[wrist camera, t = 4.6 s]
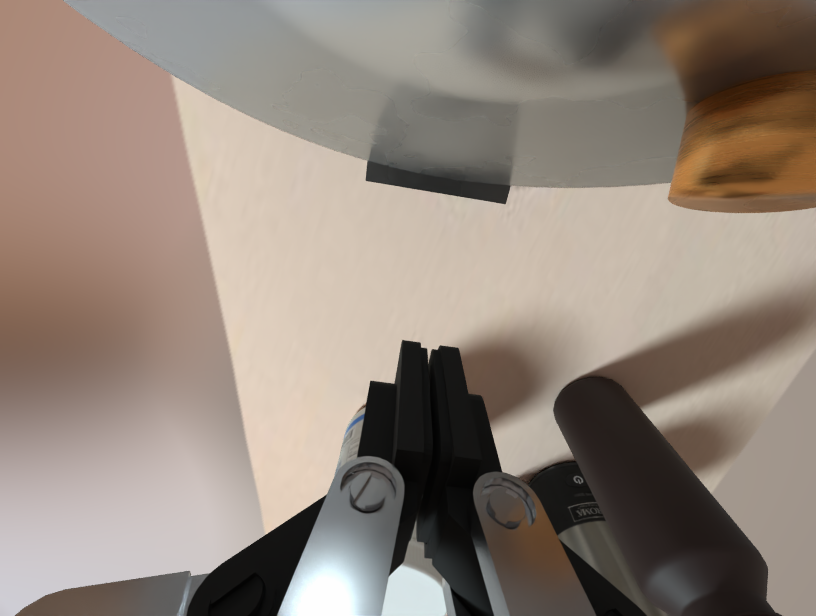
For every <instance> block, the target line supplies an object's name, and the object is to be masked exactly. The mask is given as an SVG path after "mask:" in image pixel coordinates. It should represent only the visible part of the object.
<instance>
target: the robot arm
mask: <svg viewBox="0 0 816 616" xmlns="http://www.w3.org/2000/svg"><path fill="white" fill-rule="evenodd" d="M415 522H416V539H417V542H423V543H424V558H428V559H432V565H433V567H434V568H435V569H436V570H437V571H438V572H439V574H440V575H441V576H442V588H443V595H444V600H445V605H446V611H447V615H448V616H647V615H646V614H645V613H644V612H643V611H642V610H641V609H640V608H639V607H638V606H637V605H636V604H635V603H634V602H632V601H631V600H630V599H629V598H628V597H627V596H625V595H624V594H623V593H622V592H621V591H620V590H618V589H617V588H616V587H615V586H614V585H612V584H611V583H610V582H609V581H608V580H607V579H605V578H604V577H603V576H602V575H601V574H600V573H598V572H597V571H596V570H595V569H594V568H593V567H591V566H590V565H589V564H588V563H587V562H586V561H584V560H583V559H582V558H581V557H580V556H579V555H577V554H576V553H575V552H574V551H573V550H572V549H570V548H569V547H568V546H567V545H566V544H564V543H563V542H562V541H561V540H560V539H559V538H558V536H557V534H556V532H555V530H554V528H553V526H552V524H551V522H550V520H549V518H548V516H547V514H546V512H545V510H544V508H543V506H542V504H541V502H540V500H539V499H538V497H537V496H536V494H535V492H534V491H533V490H532V489H531V488H530V487H529V486H528V485H527V484H526V483H525V482H523V481H521V480H520V479H518V478H517V477H515V476H513V475H510V474H507V473H503V472H502V469H501V466H500V462H499V458H498V454H497V450H496V447H495V443H494V439H493V435H492V431H491V427H490V424H489V420H488V416H487V412H486V408H485V405H484V401H483V398H482V397H481V396H480V395H474V394H468V389H467V385H466V380H465V375H464V370H463V366H462V361H461V356H460V351H459V348H455V347H448V346H441V345H440V346H439V348H438V350H434V349H432V351H431V355H430V360H429V364H428V354H427V348H421V343H419V342H412V341H405V340H402V344H401V349H400V355H399V361H398V367H397V372H396V378H395V384H391V383H384V382H376V381H370V386H369V392H368V397H367V403H366V409H365V414H364V420H363V426H362V431H361V437H360V442H359V448H358V454H357V458H355V459H353V460H350V461H348V462H347V463H345V464H344V465H343V466H342V467H341V468H340V469H339V470H338V472H337V474H336V475H335V477H334V479H333V481H332V484H331V486H330V489H329V491H328V493H327V495H326V496H324V497H323V498H321V499H320V500H318V501H316V502H315V503H313V504H312V505H310V506H309V507H307V508H306V509H304V510H303V511H301V512H300V513H298V514H297V515H295V516H294V517H292V518H291V519H289V520H288V521H286V522H285V523H283V524H282V525H280V526H278V527H277V528H275V529H274V530H272V531H271V532H269V533H268V534H266V535H265V536H263V537H262V538H260V539H259V540H257V541H256V542H254V543H253V544H251V545H250V546H248V547H247V548H245V549H243V550H242V551H241V552H239V553H238V554H236V555H234V556H233V557H232V558H230V559H228V560H227V561H225V562H224V563H222V564H221V565H220V566H218V567H217V568H216V569H215V570H214V571H212V572H211V573H209V574H202V575H196V576H191V573H190V571H185V572H179V573H172V574H165V575H158V576H152V577H145V578H138V579H132V580H125V581H118V582H111V583H105V584H98V585H91V586H85V587H78V588H71V589H65V590H62V591H58V592H55V593H52V594H49V595H46V596H44V597H42V598H40V599H39V600H37V601H35V602H33V603H32V604H30V605H28V606H26V607H25V608H23V609H22V610H21V611H20V612H19V613H17V614H16V615H15V616H381V614H382V609H383V604H384V598H385V593H386V588H387V583H388V578H389V576H390V575H391V574H392V573H393V572H394V571H395V570H396V569H397V568H398V567H399V566H400V565H401V564H402V563H403V562H404V559H405V555H406V551H407V548H408V544H409V541H411V537H412V534H413V530H414V526H415Z"/></svg>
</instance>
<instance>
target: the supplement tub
mask: <svg viewBox="0 0 816 616" xmlns="http://www.w3.org/2000/svg"><path fill="white" fill-rule="evenodd" d="M365 409H366V407H365V408H363V409H362V410H360V411H359V412H358V413H356V414H355V415H354V416H353V418H352V419H351V421H350V422H349V424H348V426H347V429H346V432H345V436H344V440H343V444H342V448H341V452H340V456H339V460H338V464H337V468H336V472H335V475H336V474H337V472H338V470H339V469H340V468H341V467H342V466H343V465H344V464H345V463H347V462H348V461H350V460H353V459H355V458H357V454H358V448H359V442H360V437H361V431H362V426H363V420H364V414H365ZM334 477H335V476H334ZM446 613H447V611H446V605H445V600H444V595H443V588H442V576H441V575H440V574H439V572H438V571H437V570H436V569H435V568H434V567H433V565H432V559H428V558H424V543H423V542H417V539H416V522H415V526H414V530H413V534H412V537H411V541H409V544H408V548H407V551H406V555H405V559H404V562H403V563H402V564H401V565H400V566H399V567H398V568H397V569H396V570H395V571H394V572H393V573H392V574H391V575H390V576H389V578H388V583H387V588H386V593H385V598H384V604H383V609H382V614H381V616H445V615H446Z"/></svg>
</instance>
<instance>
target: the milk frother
mask: <svg viewBox="0 0 816 616" xmlns="http://www.w3.org/2000/svg"><path fill="white" fill-rule="evenodd" d="M528 486H529V487H530V488H531V489H532V490H533V491H534V492H535V494H536V496H537V497H538V499H539V500H540V502H541V504H542V506H543V508H544V510H545V512H546V514H547V516H548V518H549V520H550V522H551V524H552V526H553V528H554V530H555V532H556V534H557V536H558V538H559V539H560V540H561V541H562V542H563V543H564V544H566V545H567V546H568V547H569V548H570V549H572V550H573V551H574V552H575V553H576V554H577V555H579V556H580V557H581V558H582V559H583V560H584V561H586V562H587V563H588V564H589V565H590V566H591V567H593V568H594V569H595V570H596V571H597V572H598V573H600V574H601V575H602V576H603V577H604V578H605V579H607V580H608V581H609V582H610V583H611V584H612V585H614V586H615V587H616V588H617V589H618V590H620V591H621V592H622V593H623V594H624V595H625V596H627V597H628V598H629V599H630V600H631V601H632V602H634V603H635V604H636V605H637V606H638V607H639V608H640V609H641V610H642V611H643V612H644V613H645V614H646V615H647V616H671V615H669V614H667V613H666V612H664V611H662V610H661V609H659V608H657V607H656V606H654V605H653V604H652V603H651V602H650V601H649V600H648V599H647V597H646V596H645V595H644V594H643V593H642V591H641V590H640V588H639V586H638V584H637V582H636V580H635V578H634V576H633V574H632V572H631V570H630V568H629V566H628V564H627V562H626V560H625V558H624V556H623V554H622V552H621V550H620V548H619V546H618V544H617V542H616V540H615V538H614V536H613V534H612V532H611V530H610V528H609V526H608V524H607V522H606V520H605V518H604V516H603V514H602V512H601V510H600V508H599V506H598V504H597V502H596V500H595V498H594V496H593V494H592V492H591V490H590V488H589V486H588V484H587V482H586V480H585V478H584V476H583V474H582V472H581V470H580V468H579V466H578V464H577V462H576V463H575V462H571V463H563V464H559V465H555V466H553V467H550V468H548V469H546V470H544V471H542V472H541V473H539V474H538V475H537V476H535V478H533V479H532V481H531V482H530V483H529V485H528Z"/></svg>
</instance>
